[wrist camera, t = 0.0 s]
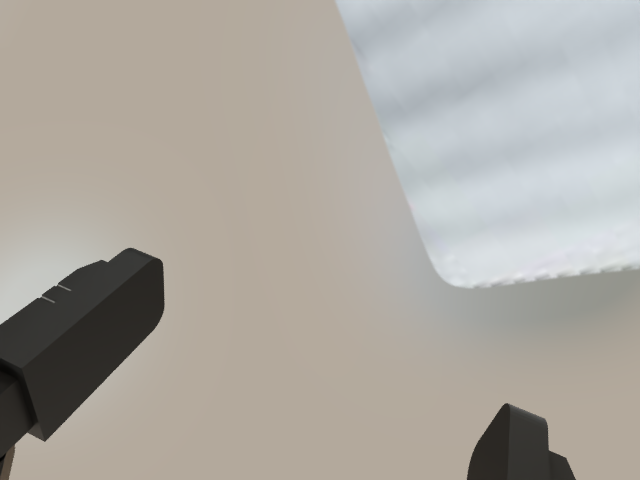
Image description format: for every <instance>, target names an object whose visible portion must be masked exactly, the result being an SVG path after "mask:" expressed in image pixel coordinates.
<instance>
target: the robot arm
mask: <svg viewBox="0 0 640 480" xmlns="http://www.w3.org/2000/svg"><path fill="white" fill-rule="evenodd" d="M163 311H164V276H163V263H162V261H161V260H160V259H158V258H155V257H153V256H151V255H148V254H146V253H143V252H141V251H138V250H136V249H134V248H128V249H125V250H123V251H122V252H121V253H119V254H118V255H117V256H115V257H114V258H113V259H111V260H110V261H109V262H106V261H103V260H100V261H98V262H95V263H92V264H90V265H87V266H84V267H82V268H79V269H77V270H76V271H74V272H73V273H72V274H70V275H69V276H67V277H66V278H64V279H63V280H62V281H60V282H59V283H58V285H57V286H53V287H52V288H51V289H49V290H48V291H46V292H45V293H44V294H42V297H41V298H37V299H35V300H34V301H33V302H31V303H30V304H29V305H27V306H26V307H25V308H23V309H22V310H20V311H19V312H17V313H16V314H15V315H13V316H12V317H10V318H9V319H8V320H6V321H5V322H4V323H2V324H1V325H0V480H9V476H10V471H11V467H12V462H13V458H14V453H15V443H16V442H18V441H19V440H20V439H21V438H22V437H23V436H24V435H25V434H26V433H29V434H31V435H33V436H35V437H37V438H39V439H41V440H43V441H44V442H45V441H46V440H47V439H48V438H49V437H50V436H51V435H52V434H53V433H54V432H55V431H56V430H57V429H58V428H59V427H60V426H61V425H62V424H63V423H64V422H65V421H66V420H67V419H68V418H69V417H70V416H71V415H72V413H73V412H74V411H75V410H76V409H77V408H78V407H79V406H80V405H81V404H82V403H83V402H84V401H85V400H86V399H87V398H88V397H89V396H90V395H91V394H92V393H93V392H94V391H95V390H96V389H97V387H99V386H100V385H101V384H102V383H103V382H104V381H105V379H106V378H107V377H108V376H109V375H110V374H111V373H112V372H113V371H114V370H115V369H116V368H117V367H118V366H119V365H120V364H121V363H122V362H123V361H124V360H125V359H126V358H127V357H128V356H129V355H130V354H131V353H132V352H133V351H134V350H135V349H136V348H137V346H138V345H139V344H140V343H141V342H142V341H143V340H144V339H145V338H146V337H147V336H148V335H149V334H150V333H151V332H152V331H153V330H154V329H155V327H156V326H157V325H158V323H159V321H160V319H161V317H162V314H163ZM467 480H576V479H575V477H574V475H573V472H572V470H571V468H570V466H569V464H568V462H567V459H566V458H565V457H563V456H560V455H558V454H556V453H553V452H551V451H549V448H548V425H547V422H546V420H545V419H544V418H542V417H539V416H537V415H534V414H532V413H529V412H527V411H525V410H522V409H519V408H517V407H515V406H513V405H510V404H508V403H506V404H504V405H503V406H502V408H501V409H500V410H499V412H498V413H497V415H496V416H495V418H494V419H493V420H492V422H491V424H490V425H489V426H488V428H487V429H486V431H485V432H484V434H483V435H482V437H481V438H480V440H479V441H478V443H477V445H476V447H475V449H474V451H473V454H472V457H471V461H470V464H469V469H468V475H467Z"/></svg>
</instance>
